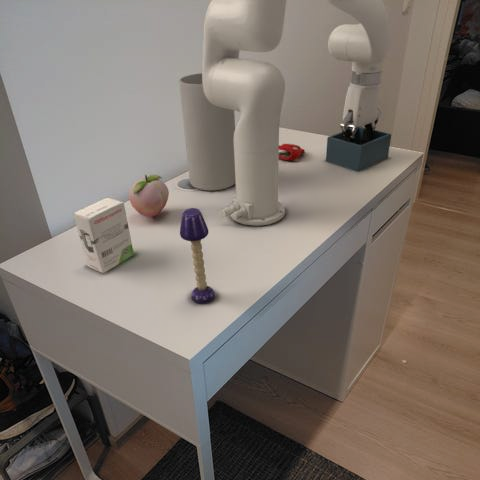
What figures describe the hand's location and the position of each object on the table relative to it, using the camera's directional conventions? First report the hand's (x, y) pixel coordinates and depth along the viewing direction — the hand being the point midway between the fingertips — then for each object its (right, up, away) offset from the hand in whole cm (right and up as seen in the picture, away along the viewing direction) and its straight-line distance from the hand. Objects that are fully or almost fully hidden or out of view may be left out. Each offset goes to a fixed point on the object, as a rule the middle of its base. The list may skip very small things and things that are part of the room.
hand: (357, 147), depth 134 cm
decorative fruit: (-53, -24, -21) cm, 62 cm away
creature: (-1, -2, 0) cm, 2 cm away
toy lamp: (-40, -44, -48) cm, 76 cm away
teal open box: (0, -3, +2) cm, 3 cm away
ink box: (-59, -36, -37) cm, 78 cm away
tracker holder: (-20, 0, +7) cm, 21 cm away
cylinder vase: (-40, -12, -7) cm, 42 cm away
